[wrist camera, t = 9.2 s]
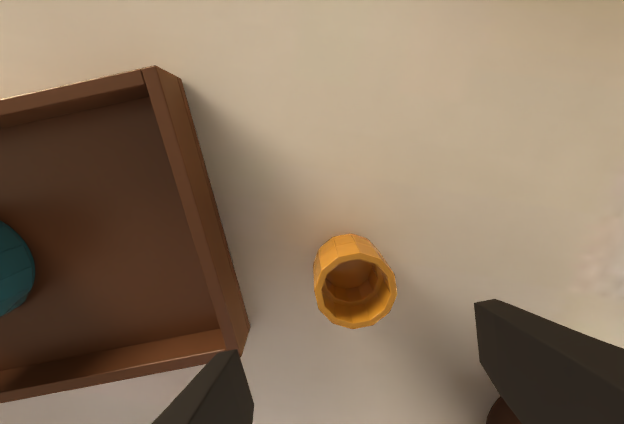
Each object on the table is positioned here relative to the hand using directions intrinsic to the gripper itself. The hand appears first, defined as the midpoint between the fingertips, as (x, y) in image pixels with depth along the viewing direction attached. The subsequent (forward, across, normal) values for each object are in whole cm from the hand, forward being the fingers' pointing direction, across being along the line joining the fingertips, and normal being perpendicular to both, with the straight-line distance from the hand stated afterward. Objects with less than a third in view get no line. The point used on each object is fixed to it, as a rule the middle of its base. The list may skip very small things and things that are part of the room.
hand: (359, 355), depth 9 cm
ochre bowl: (+7, 0, 0) cm, 7 cm away
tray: (+7, +14, -4) cm, 17 cm away
